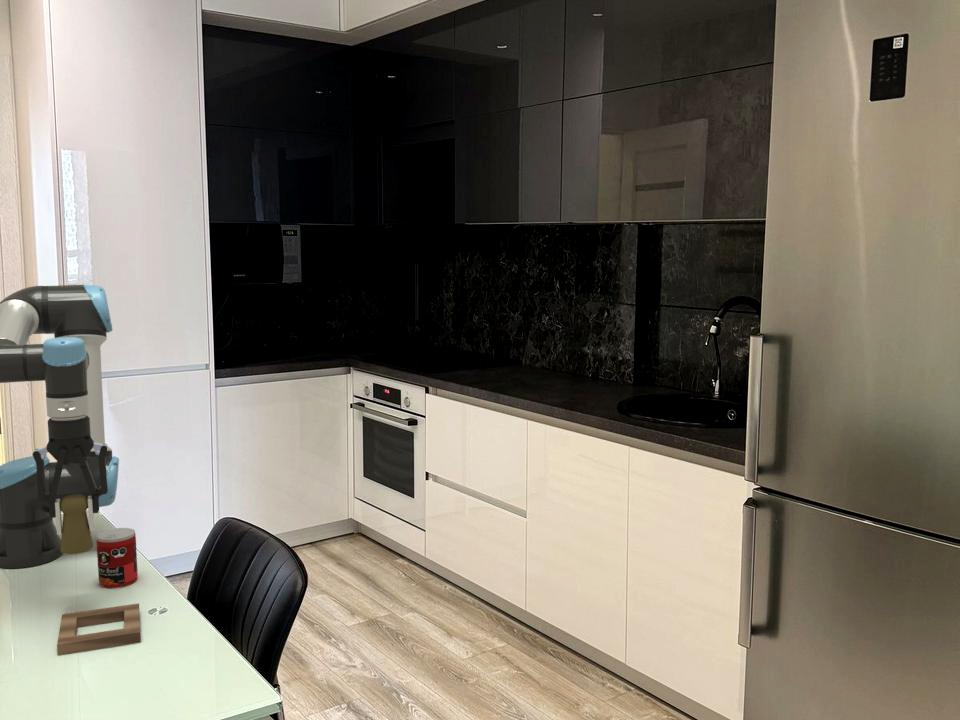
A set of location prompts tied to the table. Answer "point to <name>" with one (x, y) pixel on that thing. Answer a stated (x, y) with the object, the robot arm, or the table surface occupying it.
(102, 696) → the table surface
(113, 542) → the canned food
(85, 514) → the cork
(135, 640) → the socket plate
